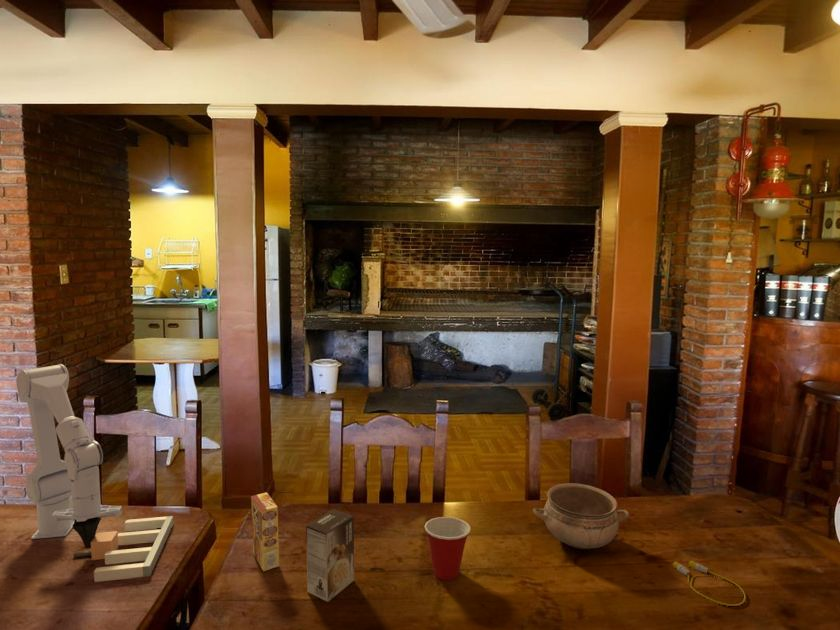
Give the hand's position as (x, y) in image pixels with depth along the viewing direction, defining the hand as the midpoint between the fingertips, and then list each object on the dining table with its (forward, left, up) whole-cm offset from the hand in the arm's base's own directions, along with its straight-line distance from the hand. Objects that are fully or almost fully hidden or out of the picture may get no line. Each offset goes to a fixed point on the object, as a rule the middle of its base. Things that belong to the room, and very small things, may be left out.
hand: (89, 546), depth 128 cm
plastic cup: (+23, +84, -3) cm, 87 cm away
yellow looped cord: (+39, +143, -3) cm, 149 cm away
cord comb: (0, +11, -2) cm, 11 cm away
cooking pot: (+17, +122, -3) cm, 123 cm away
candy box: (+10, +42, -3) cm, 43 cm away
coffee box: (+23, +57, -3) cm, 61 cm away
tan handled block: (0, +1, -2) cm, 3 cm away
